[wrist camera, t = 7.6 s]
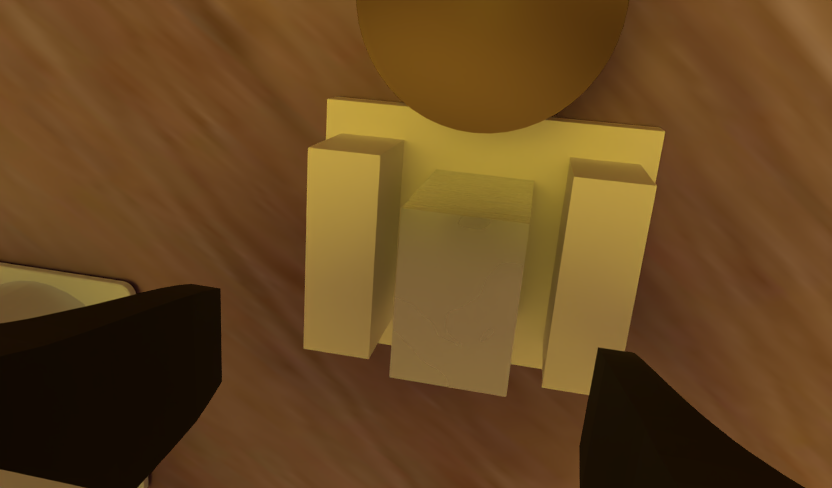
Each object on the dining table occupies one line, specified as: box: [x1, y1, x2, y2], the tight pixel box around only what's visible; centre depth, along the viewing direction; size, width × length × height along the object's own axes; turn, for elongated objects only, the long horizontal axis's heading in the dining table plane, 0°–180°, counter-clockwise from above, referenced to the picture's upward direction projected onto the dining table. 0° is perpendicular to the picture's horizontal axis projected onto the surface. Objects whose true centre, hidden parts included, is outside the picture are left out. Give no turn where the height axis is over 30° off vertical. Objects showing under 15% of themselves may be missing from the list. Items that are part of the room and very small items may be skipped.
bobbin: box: [356, 0, 629, 134], centre depth 17 cm, size 6×6×5 cm
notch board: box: [304, 96, 665, 395], centre depth 19 cm, size 8×10×4 cm
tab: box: [389, 169, 534, 397], centre depth 18 cm, size 3×4×5 cm, turn 175°
